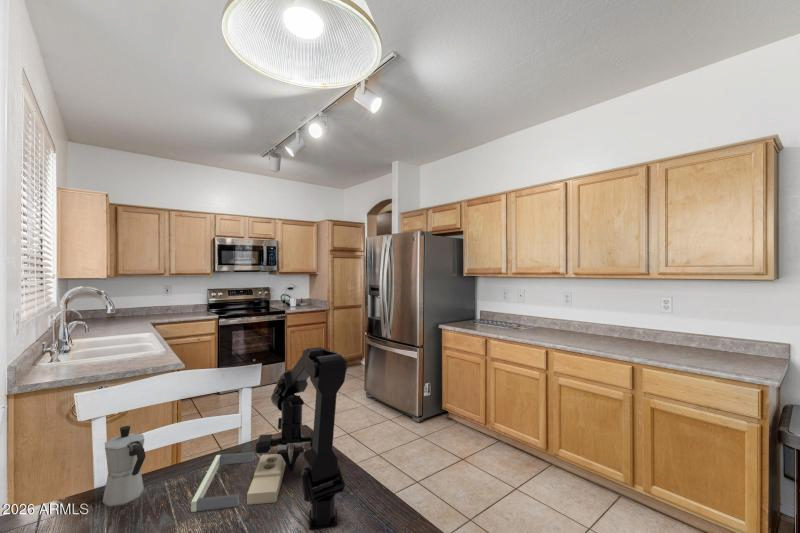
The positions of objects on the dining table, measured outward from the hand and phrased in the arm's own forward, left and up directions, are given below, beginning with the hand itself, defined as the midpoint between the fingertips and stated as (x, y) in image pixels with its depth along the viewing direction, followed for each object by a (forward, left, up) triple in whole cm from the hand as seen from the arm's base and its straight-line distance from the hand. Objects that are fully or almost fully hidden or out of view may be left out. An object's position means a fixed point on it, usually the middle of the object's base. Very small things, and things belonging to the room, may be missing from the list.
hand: (290, 470), depth 106 cm
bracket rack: (0, +17, -2) cm, 17 cm away
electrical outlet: (-2, +6, -2) cm, 7 cm away
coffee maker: (-2, +41, -2) cm, 41 cm away
